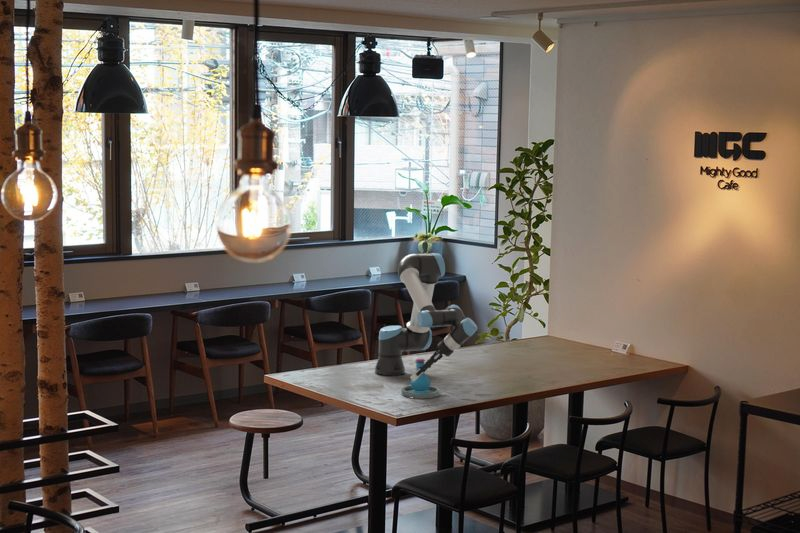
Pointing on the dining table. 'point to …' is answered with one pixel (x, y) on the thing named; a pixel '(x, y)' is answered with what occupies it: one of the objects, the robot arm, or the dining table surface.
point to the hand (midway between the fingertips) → (414, 376)
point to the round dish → (431, 393)
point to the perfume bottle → (420, 379)
